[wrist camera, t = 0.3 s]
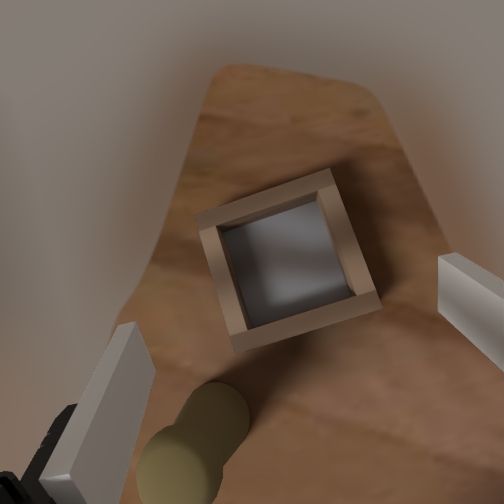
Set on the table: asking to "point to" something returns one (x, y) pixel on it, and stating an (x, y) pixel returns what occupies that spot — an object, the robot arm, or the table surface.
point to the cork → (194, 448)
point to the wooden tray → (286, 262)
